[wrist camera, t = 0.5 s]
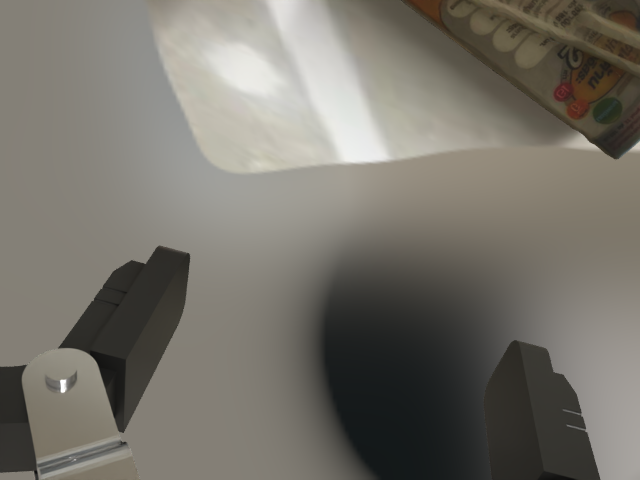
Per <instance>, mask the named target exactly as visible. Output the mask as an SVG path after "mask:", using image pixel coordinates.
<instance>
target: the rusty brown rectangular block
mask: <svg viewBox="0 0 640 480" xmlns="http://www.w3.org/2000/svg"><path fill="white" fill-rule="evenodd" d="M401 1H402V2H404V3H405V4H406V5H408V6H409V7H410V8H412V9H413V10H414V11H415V12H417V13H418V14H419V15H421V16H422V17H423V18H425V19H426V20H427V21H429V22H430V23H431V24H433V25H434V26H435V27H437V28H438V29H439V30H441V31H442V32H443V33H444V34H446V35H447V36H448V37H449V38H451V39H452V40H453V41H455V42H456V43H457V44H459V45H460V46H461V47H463V48H464V49H465V50H467V51H468V52H469V53H471V54H472V55H473V56H475V57H476V58H477V59H479V60H480V61H481V62H483V63H484V64H485V65H487V66H488V67H489V68H491V69H492V70H494V71H495V72H496V73H498V74H499V75H500V76H502V77H503V78H504V79H506V80H507V81H509V82H510V83H511V84H513V85H514V86H515V87H517V88H518V89H520V90H521V91H522V92H524V93H525V94H526V95H527V96H529V97H530V98H532V99H533V100H534V101H536V102H537V103H538V104H540V105H541V106H542V107H544V108H545V109H546V110H548V111H549V112H551V113H552V114H553V115H555V116H556V117H558V118H559V119H560V120H562V121H563V122H564V123H566V124H567V125H569V126H570V127H572V128H573V129H575V130H577V131H579V132H580V133H581V134H583V135H584V136H585V137H586V138H587V139H588V141H589V142H590V143H592V144H595V145H596V146H597V147H598V148H600V149H601V150H602V151H603V152H604V153H605V154H607V155H609V156H610V157H612V158H614V159H619V158H620V157H621V156H623V155H624V154H625V153H626V152H628V151H629V150H630V149H631V148H632V147H634V146H635V145H636V144H637V143H638V142H639V141H640V0H401Z"/></svg>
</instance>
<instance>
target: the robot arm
mask: <svg viewBox="0 0 640 480" xmlns="http://www.w3.org/2000/svg"><path fill="white" fill-rule="evenodd" d="M189 263H190V254H189V253H186V252H182V251H178V250H175V249H171V248H167V247H163V246H158V247H157V248H156V249H155V251H154V252H153V254H152V256H151V257H150V259H149V260H148V262H147V263H146V264H144V263H140V262H136V261H132V260H131V261H130V262H128V263H126V264H125V265H123V266H121V267H120V268H118V269H116V270H115V271H114V272H113V273H112V274H111V276H110V277H109V278H108V280H107V281H106V283H105V284H104V285H103V288H102V289H101V290H100V291H99V293H98V294H97V295H96V297H95V298H94V301H92V302H91V304H90V305H89V306H88V308H87V309H86V311H85V312H84V314H83V315H82V316H81V317H80V319H79V320H78V322H77V323H76V325H75V326H74V327H73V329H72V330H71V331H70V333H69V334H68V336H67V337H66V338H65V340H64V341H63V343H62V344H61V345H60V346H59V348H58V349H54V350H50V351H47V352H45V353H42V354H41V355H39V356H37V357H36V358H34V359H33V360H32V361H31V362H30V363H29V364H28V365H23V366H14V367H0V472H1V473H2V472H18V471H33V474H34V480H140V477H139V474H138V471H137V468H136V465H135V462H134V459H133V455H132V452H131V450H130V448H129V445H128V444H127V443H126V442H122V441H121V438H120V436H119V432H122V433H124V431H125V429H126V427H127V425H128V423H129V421H130V419H131V417H132V415H133V413H134V411H135V409H136V407H137V405H138V403H139V401H140V399H141V397H142V395H143V393H144V391H145V389H146V387H147V385H148V383H149V381H150V379H151V378H152V376H153V373H154V372H155V370H156V368H157V365H158V364H159V362H160V360H161V358H162V355H163V354H164V352H165V350H166V348H167V346H168V344H169V342H170V339H171V338H172V336H173V334H174V332H175V330H176V328H177V326H178V324H179V321H180V319H181V316H182V313H183V309H184V305H185V300H186V291H187V282H188V272H189ZM484 414H485V423H486V432H487V441H488V450H489V459H490V468H491V477H492V480H600V477H599V473H598V469H597V466H596V462H595V459H594V455H593V451H592V448H591V444H590V441H589V437H588V434H587V432H585V430H586V427H585V423H584V419H583V417H581V409H580V405H579V402H578V398H577V394H576V393H575V391H574V390H573V388H572V387H571V385H570V384H569V382H568V381H567V380H566V378H565V377H564V375H562V374H558V373H554V372H553V369H552V365H551V360H550V356H549V353H548V351H547V349H546V348H543V347H539V346H536V345H531V344H528V343H524V342H520V341H517V340H514V341H513V342H511V343H510V345H509V347H508V348H507V350H506V352H505V353H504V355H503V357H502V359H501V360H500V362H499V364H498V365H497V367H496V369H495V371H494V372H493V374H492V376H491V378H490V379H489V382H488V384H487V386H486V390H485V395H484ZM118 431H119V432H118Z"/></svg>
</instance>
